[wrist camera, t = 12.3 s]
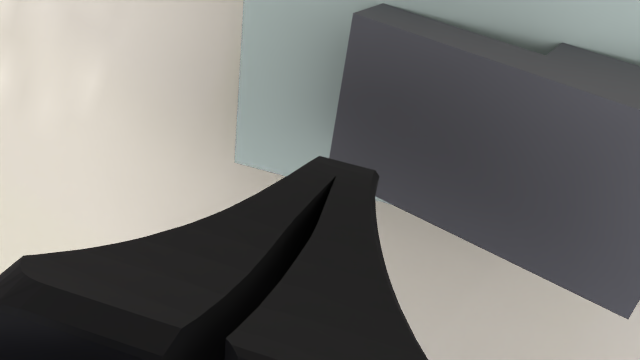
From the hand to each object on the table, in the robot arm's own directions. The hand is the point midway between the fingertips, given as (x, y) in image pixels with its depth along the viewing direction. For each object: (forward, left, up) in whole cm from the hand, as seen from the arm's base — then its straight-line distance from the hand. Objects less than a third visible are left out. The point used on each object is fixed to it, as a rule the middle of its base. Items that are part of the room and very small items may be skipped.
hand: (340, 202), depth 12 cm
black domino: (0, +1, -6) cm, 6 cm away
